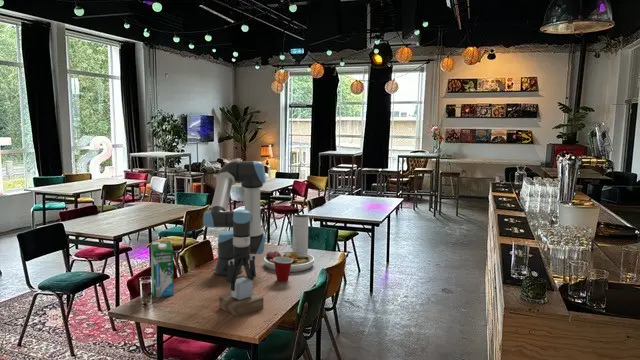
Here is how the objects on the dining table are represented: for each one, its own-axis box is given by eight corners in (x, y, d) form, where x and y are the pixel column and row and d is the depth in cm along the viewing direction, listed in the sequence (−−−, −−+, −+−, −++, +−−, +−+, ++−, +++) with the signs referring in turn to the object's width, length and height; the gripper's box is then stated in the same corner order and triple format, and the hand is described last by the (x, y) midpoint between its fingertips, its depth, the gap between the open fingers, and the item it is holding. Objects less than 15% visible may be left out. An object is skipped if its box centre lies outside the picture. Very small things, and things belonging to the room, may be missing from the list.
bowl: (318, 261, 278) (319, 249, 277) (307, 276, 249) (307, 262, 248) (273, 257, 284) (273, 245, 284) (256, 271, 255) (256, 258, 255)
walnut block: (219, 307, 200) (219, 297, 199) (244, 299, 210) (244, 289, 209) (237, 316, 190) (237, 305, 190) (263, 308, 200) (263, 297, 200)
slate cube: (230, 295, 199) (230, 280, 199) (243, 291, 204) (243, 277, 204) (239, 299, 195) (239, 284, 194) (252, 296, 200) (252, 280, 199)
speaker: (311, 254, 293) (311, 215, 291) (299, 257, 286) (300, 217, 283) (300, 251, 301) (300, 213, 298) (288, 253, 293) (289, 214, 291)
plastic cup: (290, 284, 233) (290, 262, 231) (270, 282, 235) (270, 260, 234) (295, 278, 243) (295, 256, 242) (276, 276, 245) (276, 255, 244)
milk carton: (153, 298, 210) (153, 246, 207) (151, 291, 218) (150, 242, 215) (173, 295, 214) (173, 244, 212) (170, 289, 222) (170, 240, 220)
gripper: (227, 250, 187) (227, 303, 190) (264, 243, 202) (264, 292, 204) (217, 247, 193) (217, 298, 195) (254, 240, 207) (254, 287, 209)
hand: (241, 295), depth 199 cm, fingers closed on slate cube, 7 cm apart
